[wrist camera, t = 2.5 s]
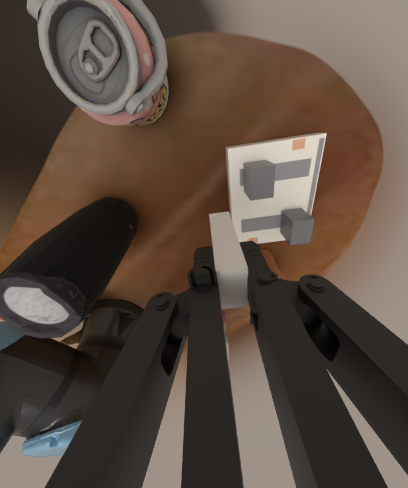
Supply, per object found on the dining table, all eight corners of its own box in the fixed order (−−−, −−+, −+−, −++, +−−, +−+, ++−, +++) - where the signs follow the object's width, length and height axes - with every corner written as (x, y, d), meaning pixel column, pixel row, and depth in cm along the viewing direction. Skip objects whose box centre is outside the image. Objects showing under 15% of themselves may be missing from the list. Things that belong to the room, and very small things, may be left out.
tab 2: (280, 232, 32) (289, 245, 28) (282, 210, 29) (293, 221, 26) (297, 230, 31) (309, 242, 28) (301, 208, 29) (314, 218, 26)
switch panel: (231, 239, 35) (233, 247, 33) (225, 147, 27) (227, 148, 25) (300, 230, 35) (307, 237, 33) (316, 132, 26) (327, 133, 24)
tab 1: (244, 191, 28) (250, 200, 24) (243, 163, 25) (250, 168, 22) (264, 188, 27) (273, 197, 24) (265, 159, 25) (275, 164, 22)
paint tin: (131, 5, 19) (60, -125, 9) (190, 80, 23) (183, 44, 13) (89, 85, 23) (2, 54, 13) (145, 141, 26) (112, 150, 16)
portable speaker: (141, 198, 31) (77, 283, 14) (138, 244, 36) (88, 347, 19) (86, 187, 29) (-54, 265, 13) (91, 236, 34) (-6, 339, 18)
